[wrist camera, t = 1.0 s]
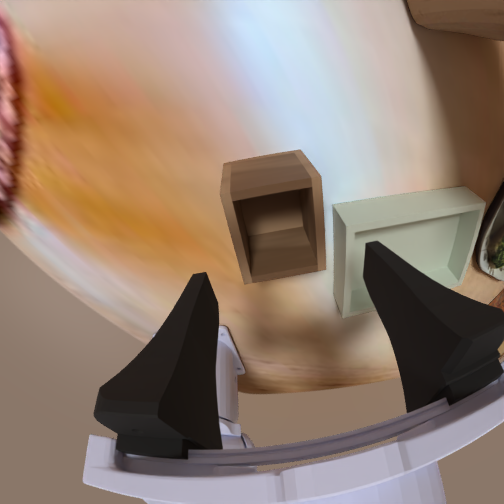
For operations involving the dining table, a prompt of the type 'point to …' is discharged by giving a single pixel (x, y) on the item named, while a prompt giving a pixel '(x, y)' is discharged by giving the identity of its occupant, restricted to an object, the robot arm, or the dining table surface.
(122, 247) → the dining table surface
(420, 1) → the wooden block
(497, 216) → the salad plate
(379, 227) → the sage crate
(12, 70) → the dining table surface
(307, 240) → the walnut crate
